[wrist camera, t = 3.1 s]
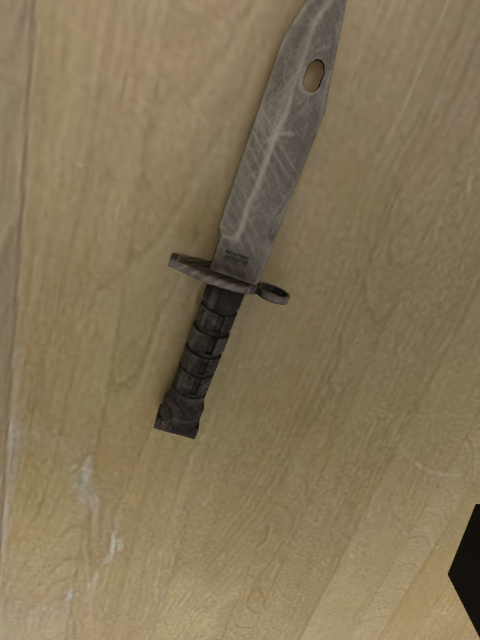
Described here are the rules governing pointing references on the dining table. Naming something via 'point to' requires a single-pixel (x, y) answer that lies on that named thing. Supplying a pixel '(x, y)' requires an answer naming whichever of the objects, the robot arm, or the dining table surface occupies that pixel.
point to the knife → (254, 207)
